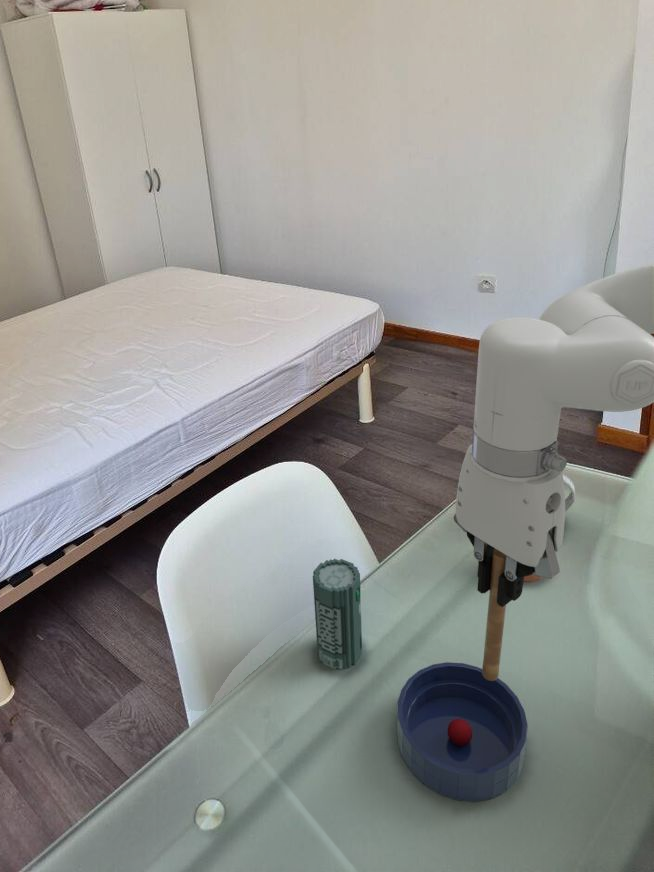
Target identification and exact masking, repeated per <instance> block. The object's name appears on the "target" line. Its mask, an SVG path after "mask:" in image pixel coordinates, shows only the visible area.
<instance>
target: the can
mask: <svg viewBox="0 0 654 872" xmlns="http://www.w3.org/2000/svg"><path fill="white" fill-rule="evenodd" d="M312 574H313V575H312V585H313V586H312V587H313V600H314V601H313V602H314V616H315V617H314V618H315V633H316V634H315V635H316V648H317V649H316V650H317V656H318V659H319V662H320V663H321V664H323V665H325V666H327V667H329V668H332V669H334V670H336V669H339V670H341V671H342V670H343V669H345V670H346V669H347V668H349V669H350V668H351V667H352V666H353V665H354V666H356V665H357V663H358V662H359V660H360V658H361V657H362V656H363V652H362V651H363V641H362V640H363V637H362V636H363V635H362V634H363V633H362V600H361V599H362V597H361V573H360V571H359V569H358V567H357V566H355V563H353V562H351V561H349V560H346V559H342V558H340V559H338V558H333V559H331V558H330V559H329V560H327V559H326V560H325V561H324V562H320V563H319V564H318V565H317V567H315V569H314V570H313V572H312Z"/></svg>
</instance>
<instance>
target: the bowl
mask: <svg viewBox="0 0 654 872" xmlns="http://www.w3.org/2000/svg"><path fill="white" fill-rule="evenodd" d="M396 712H397V714H396V715H397V716H396V717H397V719H396V720H397V721H396V722H397V723H396V724H397V727H396V730H397V732H396V733H397V745H398V748H399V751H400V755H401V757H402V760H403V761H404V762H405V764H406V766H407V768H408V769H409V771H410V773H411V774H412V775H414V776H415V777H416V779H418V780H419V781H420V782H421V783H422V785H424V786H425V787H428V788H429V789H430V790H432V791H433V792H436V793H437V794H438V795H440V796H444V797H447V798H449V799H453V800H456V801H461V802H471V803H473V802H474V803H476V802H481V801H486V800H491V799H494V798H496V797H497V796H500V795H501V794H504V793H505V792H507V791H508V790H509V789H510V788H511V787H512V786H513V785H514V784H515V783H516V782H517V780H519V779H518V778H519V777H520V774H521V772H522V770H523V768H524V761H525V753H526V747H527V740H528V739H527V738H528V727H529V725H528V720H527V716H526V711H525V709H524V707H523V705H522V703H521V701H520V700H519V697H518V696H517V694H515V692H514V691H513V690H512V689H511V688H510V686H509V685H508V684H507V683H506V682H505V681H503V680H502V679H500V678H499V677H498V678H497V679H496V680H494V681H489V680H487V679H485V678H484V677H483V675H482V668H481V667H479V666H476V665H473V664H472V665H471V664H467V663H464V662H450V661H449V662H447V661H446V662H440V663H434V664H431V665H428V666H426V667H424V668H422V669H420V670H419V669H418V671H417V672H415V673H414V674H412V676H410V677H409V678H408V679H407V680H406V682H405V684H404V685H403V686H402V687H401V690H400V693H399V696H398V699H397V711H396ZM454 719H463V720H465V721H466V722H467V723H468V724H469V725H470V727H471V729H472V739H471V741H470V742H469V743H468V744H467V745H465V746H458V745H455V744H454V743H453V742H452V741H451V740H450V739H449V736H448V733H447V729H448V725H449V724H450V722H451V721H453V720H454Z"/></svg>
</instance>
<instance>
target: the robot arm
mask: <svg viewBox="0 0 654 872" xmlns="http://www.w3.org/2000/svg"><path fill="white" fill-rule="evenodd" d="M653 334H654V263H653V264H646V265H641V266H637V267H633V268H630V269H625V270H622V271H618V272H616V273H612V274H610V275H608V276H605V277H602V278H599V279H597V280H594V281H592V282H591V281H590V282H589V283H586V284H584V285H581V286H579V287H576V288H574V289H572V290H570V291H568V292H566V293H565V294H562V295H561V296H560V297H558V298H556V299H555V300H554V301H553V302H551V303H550V304H549V305H548V306H547V307H546V308H545V309H544V311H542V314H541V315H540V317H539V319H538V318H531V317H509V318H508V317H507V318H503V319H499V320H496V321H494V322H492V323H491V324H489V325H488V326H487V327H485V329H484V330H483V332H482V334H481V335H480V338H479V345H478V352H477V353H478V354H477V356H478V357H477V369H476V382H475V383H476V385H475V397H474V398H475V399H474V412H473V413H474V414H473V427H472V428H473V429H472V440H471V441H472V442H471V443H470V445H469V446H468V447H467V450H466V452H465V455H464V459H463V462H462V465H461V469H460V473H459V478H458V482H457V489H456V498H455V513H454V515H453V517H452V518H453V521H454V522H455V523H456V525H457V526H458V527H459V528H460V529H461V530H462V531H463V532H464V533H466V536H467V538H468V540H469V542H470V544H471V545H472V547H473V556H474V558H475V560H476V561H478V562H477V563H478V564H477V565H478V566H477V574H476V575H477V587H476V589H477V592H478V593H480V594H486V593H487V592H488V591H489V592H490V582H491V571H492V561H493V550H494V549H497V550H499V551H500V552H502V553H504V554H505V555H506V563H505V572H504V573H502V574H501V575H500V576H499V581H498V592H497V604H498V605H499V606H501V607H504V606H505V605H506V606H507V605H508V604H509V603H510V602H511V601H513V602H515V601H517V600H518V599H519V598H520V597H521V596H522V594H523V590H524V589H523V588H524V581H523V580H524V577H525V576H529V575H532V574H535V575H536V576H540V577H543V578H544V579H548V580H551V579H553V578H554V577H556V576H557V575H558V574H559V573H561V571H560V570H561V569H560V565H559V562H558V557H557V554H556V553H557V552H558V551H559V550H560V549H561V548H562V546H563V542H564V537H565V536H564V534H565V525H566V524H565V523H566V512H565V499H566V489H565V484H564V479H563V474H564V473H563V471H564V470H565V469H566V468H567V464H568V458H566V457H563V456H562V455H561V454H560V453H559V452H558V448H559V441H558V435H559V428H560V420H561V413H562V408H563V409H564V408H566V409H567V408H568V409H578V410H587V411H597V412H610V413H623V412H631V411H635V410H637V411H638V410H640V409H643V408H645V407H648V406H650V405H652V404H653V403H654V336H653Z"/></svg>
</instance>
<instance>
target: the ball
mask: <svg viewBox="0 0 654 872" xmlns="http://www.w3.org/2000/svg"><path fill="white" fill-rule="evenodd" d="M447 733H448V736H449V739H450V740H451V741H452V742H453V743H454V744H455V745H458V746H465V745H467V744H468V743H469V742H470V741H471V739H472V729H471V727H470V725H469V724H468V723H467V722H466V721H465V720H463V719H454V720H453V721H451V722H450V724H449V725H448V729H447Z"/></svg>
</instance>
